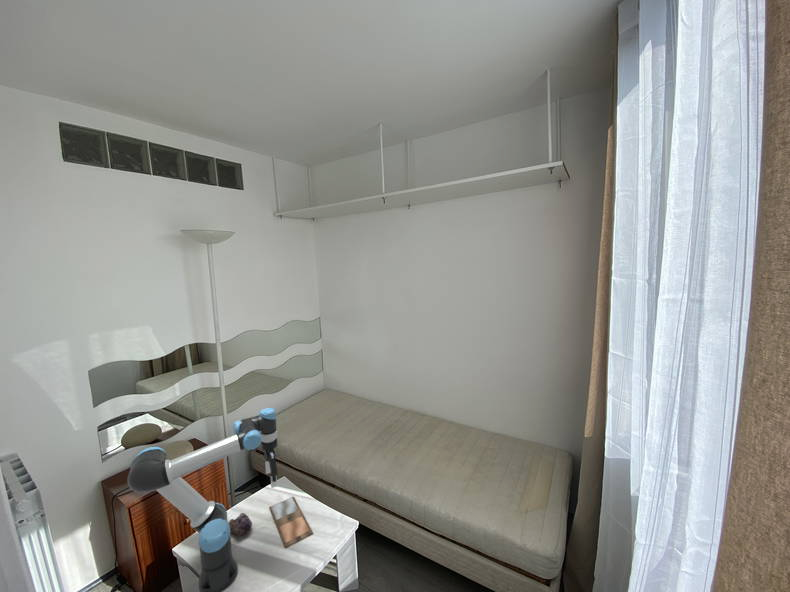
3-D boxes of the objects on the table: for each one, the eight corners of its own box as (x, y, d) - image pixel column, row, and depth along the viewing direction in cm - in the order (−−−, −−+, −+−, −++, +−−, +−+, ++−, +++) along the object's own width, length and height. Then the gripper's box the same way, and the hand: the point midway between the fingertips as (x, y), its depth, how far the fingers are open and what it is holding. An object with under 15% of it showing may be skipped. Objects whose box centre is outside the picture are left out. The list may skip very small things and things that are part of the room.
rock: (230, 535, 156) (246, 543, 160) (243, 516, 161) (258, 524, 165) (223, 525, 165) (238, 533, 169) (236, 507, 169) (250, 515, 174)
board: (285, 548, 154) (285, 547, 154) (269, 508, 182) (268, 507, 182) (313, 533, 162) (313, 532, 162) (293, 497, 189) (293, 496, 189)
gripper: (282, 448, 154) (284, 490, 156) (271, 427, 176) (273, 465, 177) (266, 453, 150) (268, 496, 152) (257, 431, 172) (259, 469, 173)
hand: (271, 479), depth 164 cm, fingers open, 13 cm apart
